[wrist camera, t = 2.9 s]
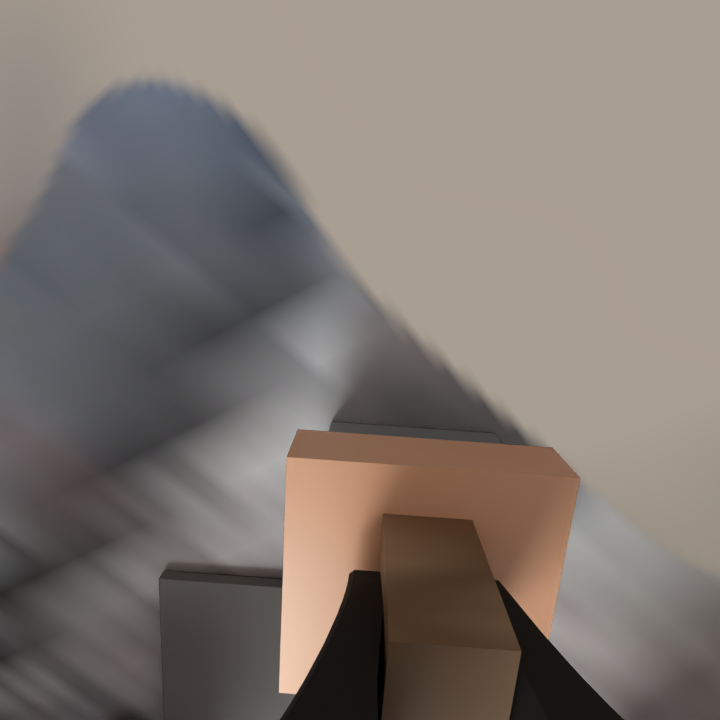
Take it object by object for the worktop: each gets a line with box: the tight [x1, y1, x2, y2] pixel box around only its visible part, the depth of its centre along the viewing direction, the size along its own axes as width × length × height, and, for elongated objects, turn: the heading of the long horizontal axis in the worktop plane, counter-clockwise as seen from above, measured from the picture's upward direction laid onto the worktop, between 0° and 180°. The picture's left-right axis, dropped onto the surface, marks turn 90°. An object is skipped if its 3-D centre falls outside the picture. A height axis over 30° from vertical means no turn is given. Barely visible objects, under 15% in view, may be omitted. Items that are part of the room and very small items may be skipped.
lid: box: [279, 429, 580, 720], centre depth 10 cm, size 6×6×5 cm
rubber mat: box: [159, 571, 296, 720], centre depth 16 cm, size 8×8×1 cm
